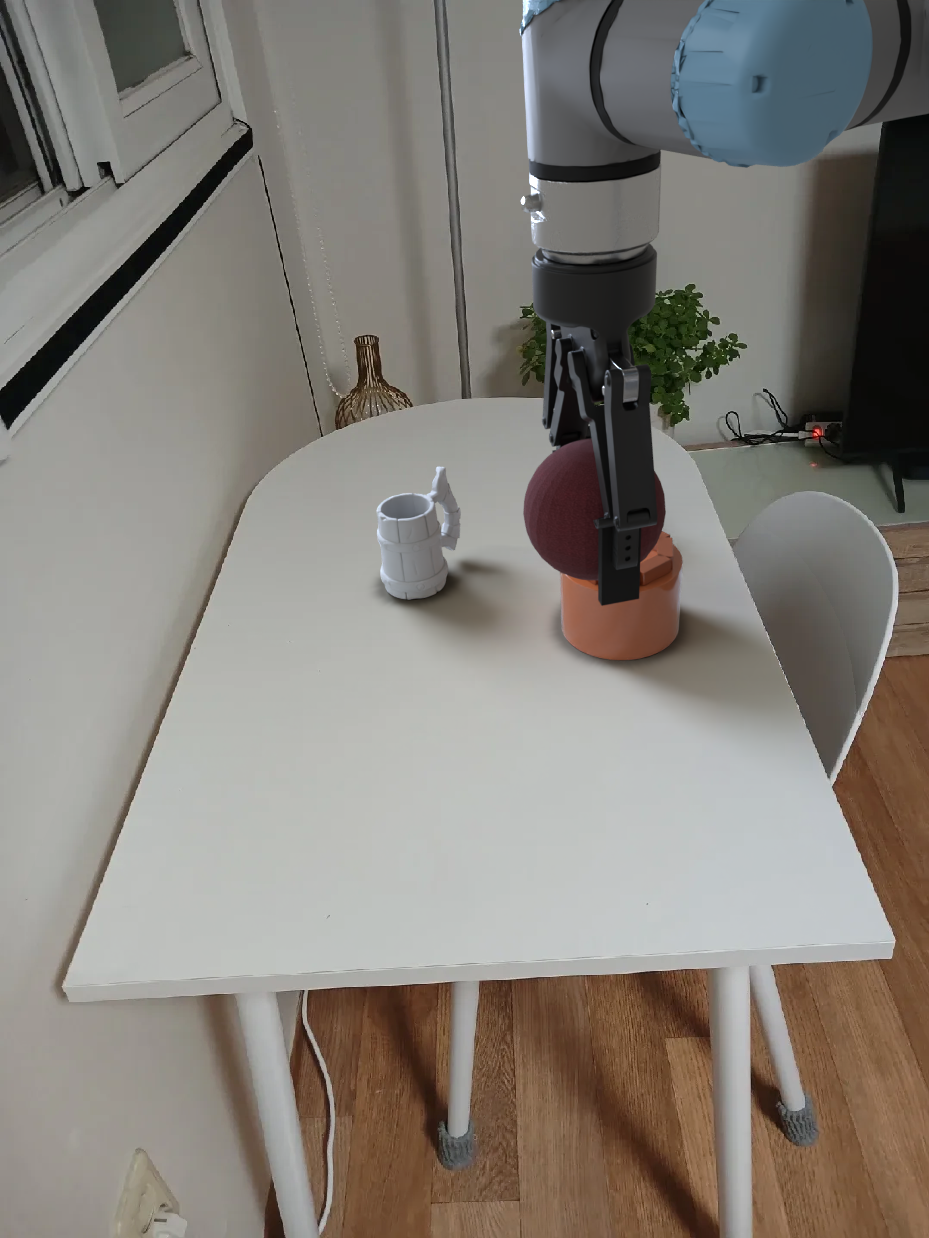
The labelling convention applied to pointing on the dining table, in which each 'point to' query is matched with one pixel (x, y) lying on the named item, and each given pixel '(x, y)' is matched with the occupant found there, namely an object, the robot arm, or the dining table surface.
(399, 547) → the mug
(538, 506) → the decorative ball
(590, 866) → the dining table surface
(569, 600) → the pedestal
